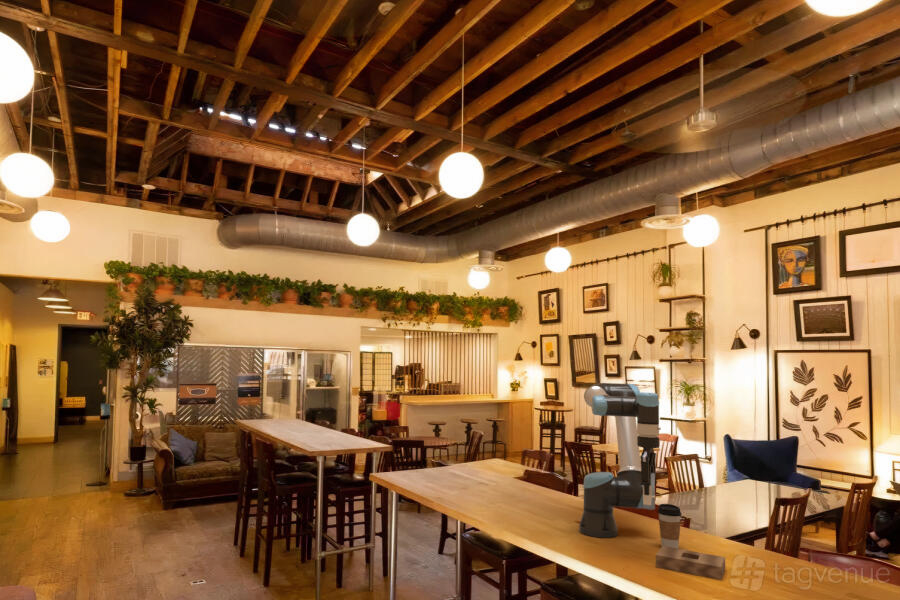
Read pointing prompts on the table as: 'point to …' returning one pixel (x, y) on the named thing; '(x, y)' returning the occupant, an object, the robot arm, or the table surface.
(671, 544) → the coffee cup
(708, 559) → the board
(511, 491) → the table surface
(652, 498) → the peg
